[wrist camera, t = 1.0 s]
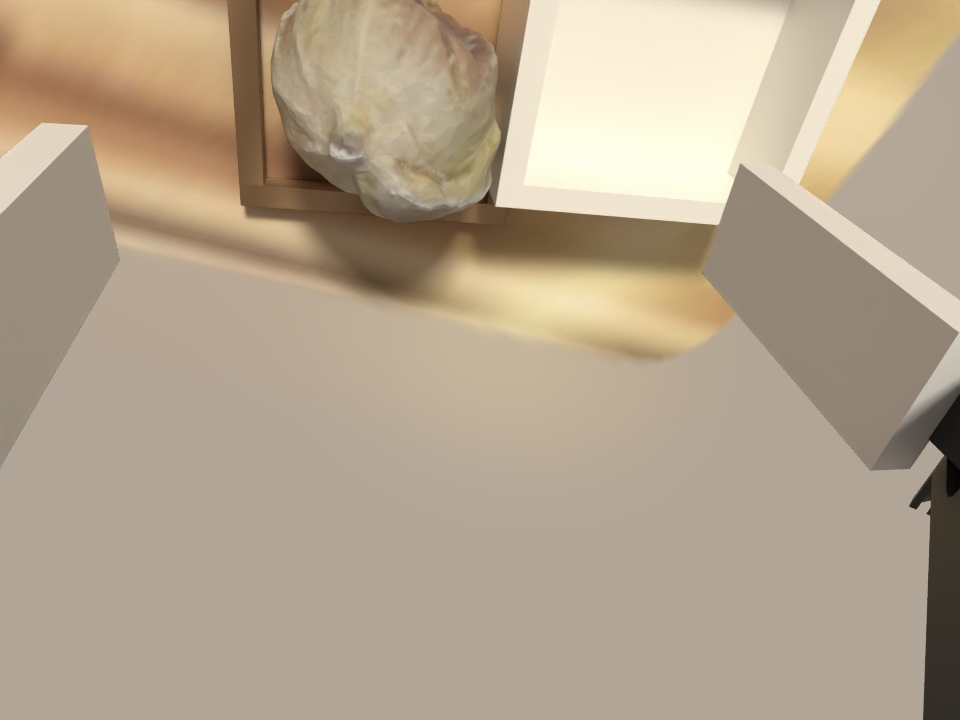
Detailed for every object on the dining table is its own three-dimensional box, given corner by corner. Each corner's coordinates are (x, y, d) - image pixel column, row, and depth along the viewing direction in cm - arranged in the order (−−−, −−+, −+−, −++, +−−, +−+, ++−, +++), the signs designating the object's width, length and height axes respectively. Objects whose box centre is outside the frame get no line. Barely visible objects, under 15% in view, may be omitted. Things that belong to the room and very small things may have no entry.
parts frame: (244, 196, 30) (240, 205, 29) (221, -166, 22) (216, -167, 22) (500, 216, 32) (504, 225, 32) (557, -104, 25) (564, -103, 24)
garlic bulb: (458, 121, 32) (526, 270, 26) (277, 138, 30) (311, 304, 24) (477, -104, 24) (579, 41, 19) (236, -103, 22) (273, 61, 17)
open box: (478, 164, 31) (495, 206, 27) (532, -197, 23) (566, -210, 19) (730, 188, 33) (778, 229, 29) (852, -129, 26) (937, -128, 22)
